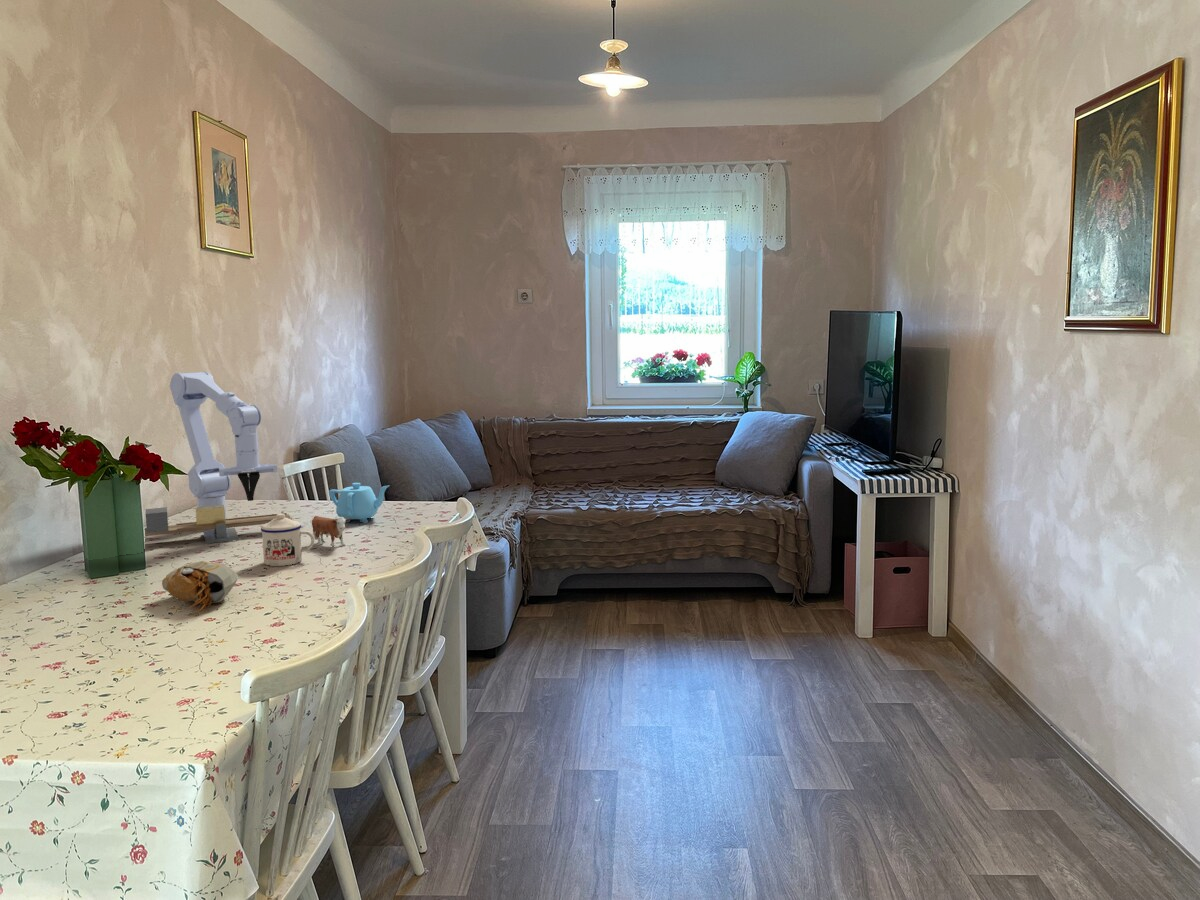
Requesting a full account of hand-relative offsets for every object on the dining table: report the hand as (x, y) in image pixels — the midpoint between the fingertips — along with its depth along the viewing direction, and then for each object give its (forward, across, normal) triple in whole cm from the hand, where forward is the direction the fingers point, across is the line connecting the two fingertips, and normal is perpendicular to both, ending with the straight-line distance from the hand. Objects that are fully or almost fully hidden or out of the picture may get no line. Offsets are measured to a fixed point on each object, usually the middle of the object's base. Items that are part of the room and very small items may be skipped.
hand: (250, 500), depth 245 cm
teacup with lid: (+10, +5, -36) cm, 38 cm away
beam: (+6, -8, 0) cm, 10 cm away
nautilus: (+10, -16, -62) cm, 65 cm away
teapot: (+10, +30, +4) cm, 32 cm away
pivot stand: (+9, -8, 0) cm, 12 cm away
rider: (+6, -10, 0) cm, 12 cm away
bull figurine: (+10, +17, -24) cm, 31 cm away
